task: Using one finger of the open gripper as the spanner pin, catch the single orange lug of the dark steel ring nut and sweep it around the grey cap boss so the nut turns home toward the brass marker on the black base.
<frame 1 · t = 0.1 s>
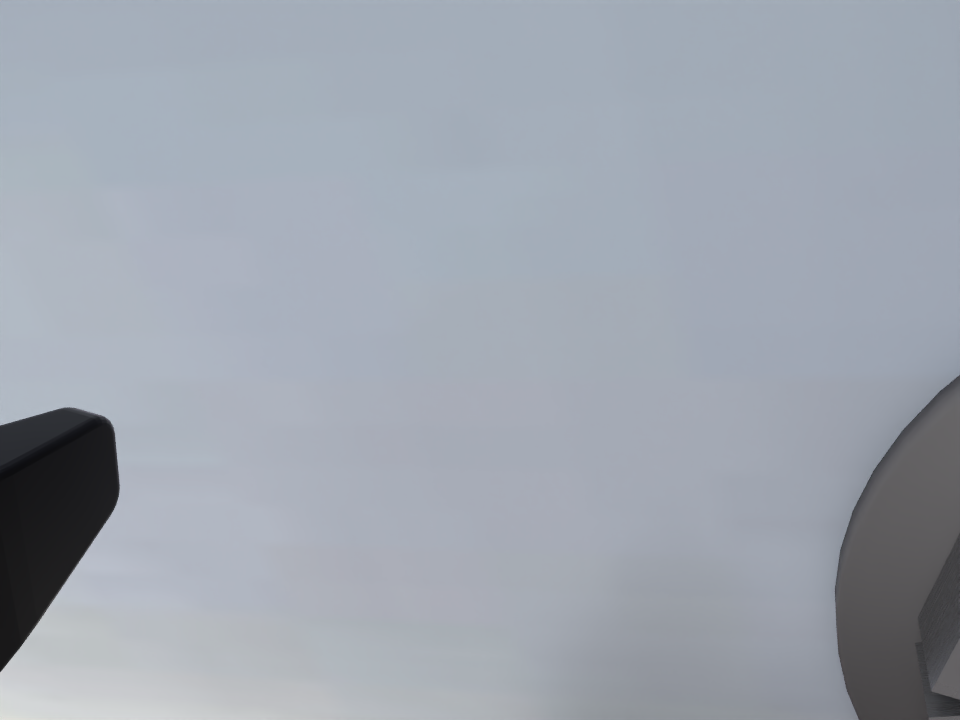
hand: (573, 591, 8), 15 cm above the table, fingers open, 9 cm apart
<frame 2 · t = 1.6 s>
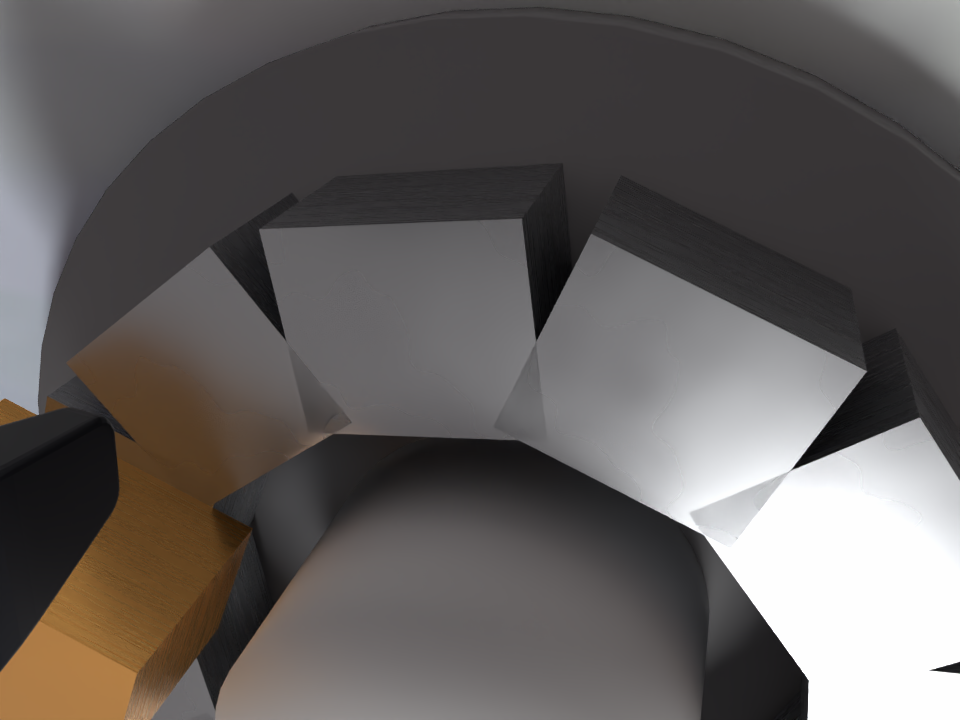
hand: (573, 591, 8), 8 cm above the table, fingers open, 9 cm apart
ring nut: (447, 710, 14), point 4 cm above the table, hinge at 0.0°
cap base: (526, 558, 18), on the table
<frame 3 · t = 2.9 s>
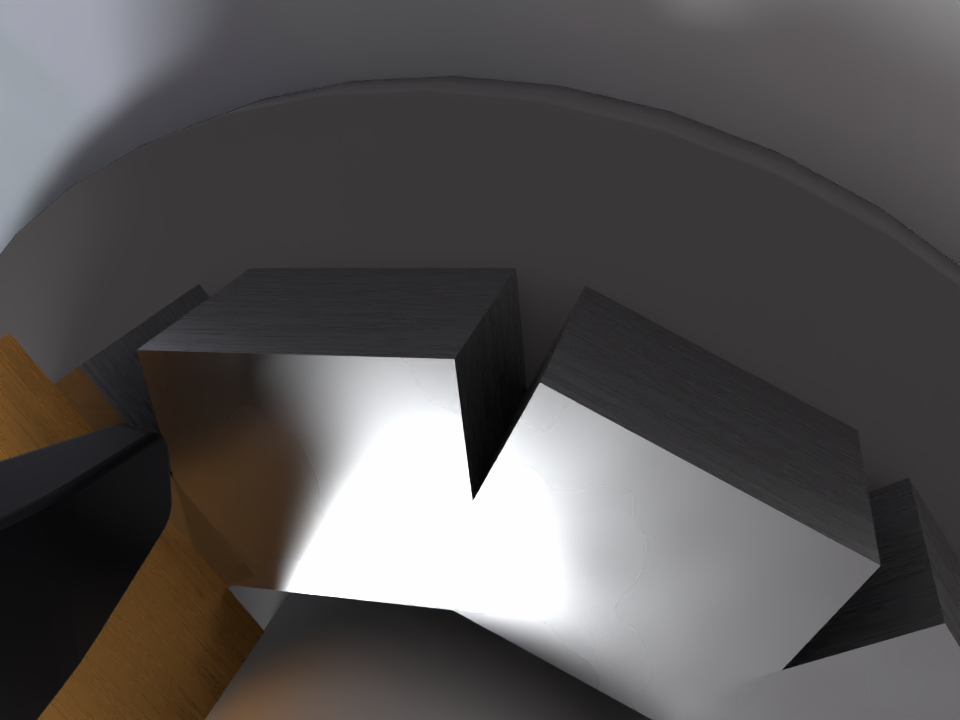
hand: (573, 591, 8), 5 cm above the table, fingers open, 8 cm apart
cap base: (475, 685, 15), on the table
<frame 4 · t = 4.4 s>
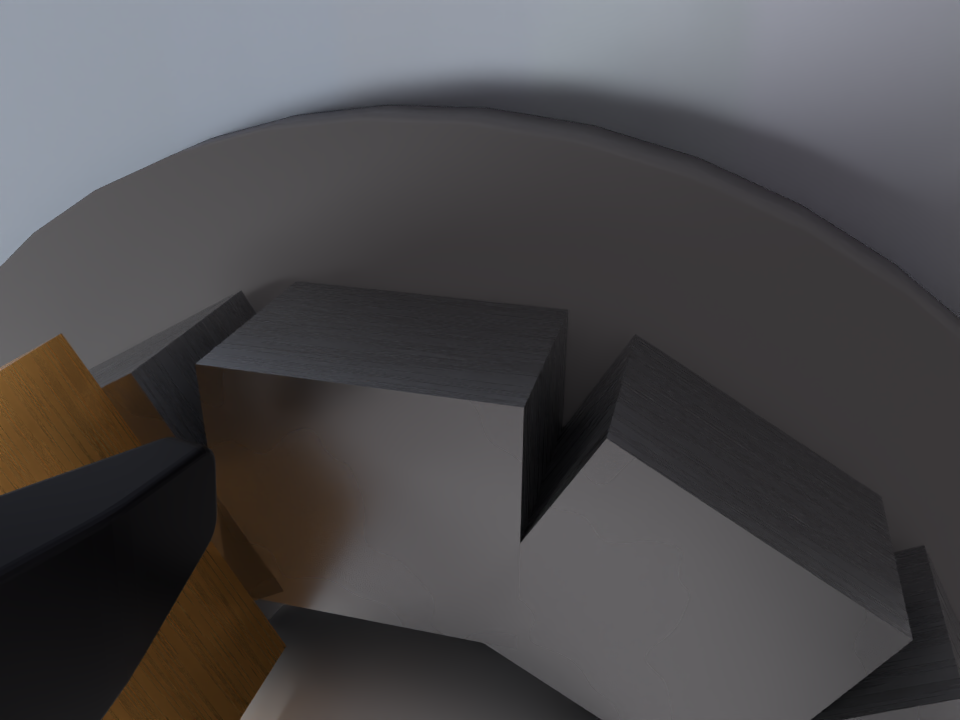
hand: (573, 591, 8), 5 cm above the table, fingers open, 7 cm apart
cap base: (461, 698, 16), on the table
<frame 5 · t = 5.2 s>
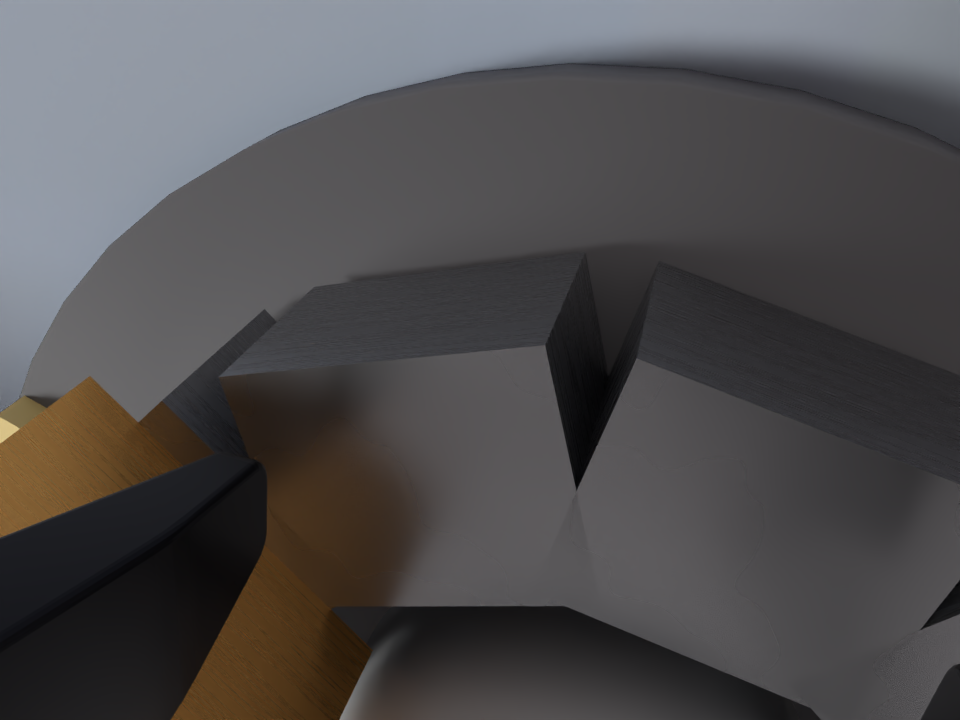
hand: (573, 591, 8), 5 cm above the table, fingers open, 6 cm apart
cap base: (579, 688, 15), on the table
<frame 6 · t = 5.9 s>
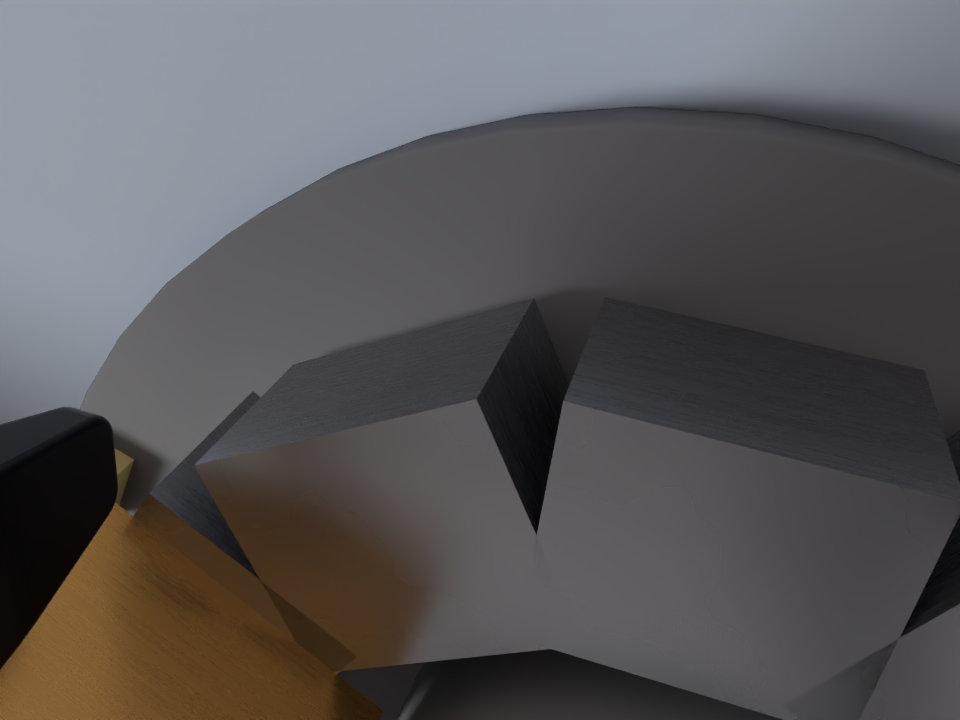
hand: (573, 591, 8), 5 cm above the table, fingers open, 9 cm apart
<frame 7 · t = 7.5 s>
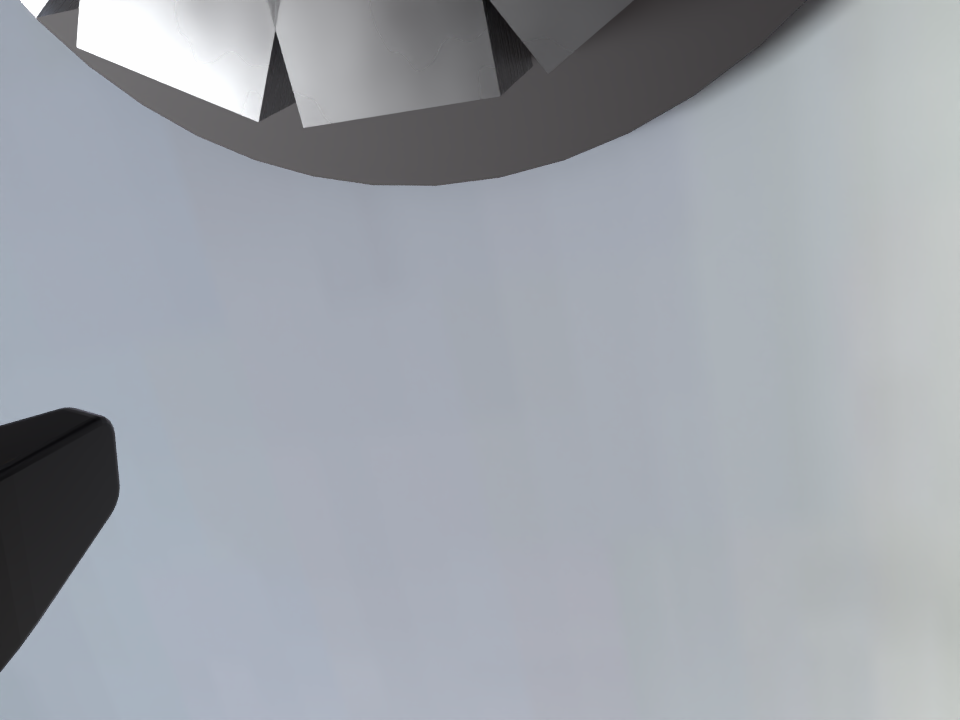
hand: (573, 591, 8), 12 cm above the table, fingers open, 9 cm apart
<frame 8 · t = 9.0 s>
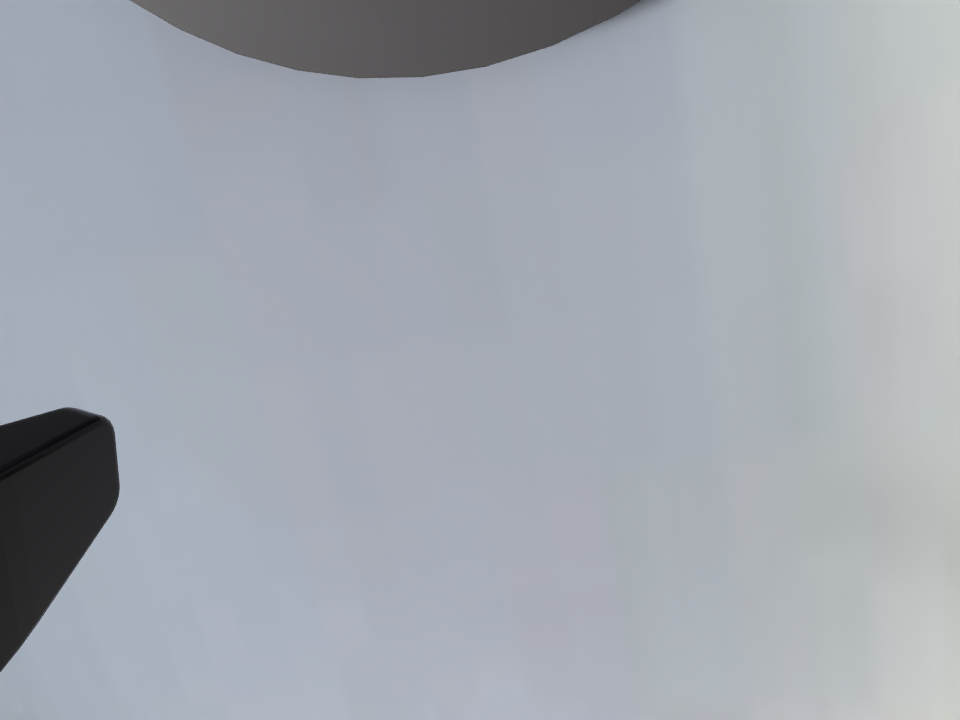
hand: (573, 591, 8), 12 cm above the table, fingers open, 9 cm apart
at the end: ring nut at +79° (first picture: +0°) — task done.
